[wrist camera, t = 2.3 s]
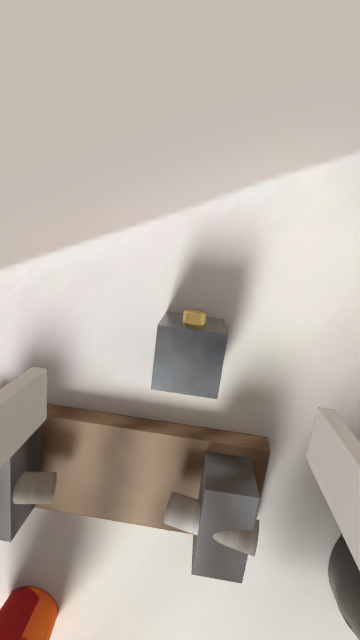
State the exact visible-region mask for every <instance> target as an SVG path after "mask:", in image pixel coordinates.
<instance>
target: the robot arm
mask: <svg viewBox="0 0 360 640" xmlns="http://www.w3.org/2000/svg"><path fill="white" fill-rule="evenodd" d="M46 419H47V369H46V368H39V367H31V368H29V369H28V370H27V371H25V372H24V373H22V374H21V375H19V376H18V377H16V378H15V379H14V380H12V381H11V382H9V383H8V384H6V385H5V386H3V387H2V388H0V468H1V467H2V466H3V465H4V464H5V463H6V462H7V461H8V460H9V459H10V458H11V457H12V456H13V454H14V453H15V452H16V451H17V450H18V449H19V448H20V447H21V446H22V445H23V444H24V443H25V441H26V440H27V439H28V438H29V437H30V436H31V435H32V434H33V433H34V432H35V431H36V430H37V428H38V427H39V426H40V425H41V424H42V423H43V422H44V421H45V420H46ZM306 460H307V462H308V464H309V466H310V468H311V470H312V472H313V474H314V477H315V479H316V481H317V483H318V485H319V487H320V489H321V491H322V493H323V495H324V497H325V500H326V502H327V504H328V506H329V508H330V510H331V512H332V514H333V516H334V518H335V520H336V523H337V525H338V527H339V529H340V531H341V533H342V535H343V536H342V538H341V539H340V540H339V541H338V543H337V544H336V546H335V548H334V550H333V552H332V555H331V558H330V561H329V568H328V575H329V582H330V586H331V589H332V591H333V594H334V597H335V599H336V602H337V605H338V607H339V610H340V612H341V614H342V616H343V618H344V620H345V621H346V623H347V624H348V626H349V627H350V628H351V630H352V631H353V632H354V633H355V634H356V636H357V638H358V639H359V640H360V441H359V440H358V439H357V437H356V436H355V435H354V434H353V432H352V431H351V430H350V429H349V427H348V426H347V425H346V424H345V422H344V421H343V420H342V419H341V417H340V416H339V415H338V414H337V412H336V411H335V410H331V409H324V408H318V410H317V414H316V418H315V422H314V426H313V430H312V434H311V438H310V443H309V447H308V451H307V455H306Z"/></svg>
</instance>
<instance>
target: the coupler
mask: <svg viewBox="0 0 360 640" xmlns="http://www.w3.org/2000/svg"><path fill="white" fill-rule="evenodd" d="M227 335H228V334H227V330H226V327H225V323H224V320H223V319H215V318H208V317H206V313H205V312H203V311H199V310H184V312H183V314H178V313H171V312H166V313H165V315H164V316H163V318H162V319H161V321H160V322H159V324H158V328H157V337H156V347H155V356H154V365H153V375H152V384H151V389H153V390H160V391H166V392H173V393H180V394H187V395H193V396H200V397H207V398H214V399H217V398H218V391H219V385H220V379H221V373H222V366H223V360H224V354H225V348H226V342H227Z"/></svg>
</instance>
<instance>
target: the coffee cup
mask: <svg viewBox="0 0 360 640" xmlns="http://www.w3.org/2000/svg"><path fill="white" fill-rule="evenodd" d="M57 613H58V608H57V604H56V602H55V601H54V599H53V598H52V597H51V596H50V595H49V594H48V593H47V592H45V591H43V590H41V589H39V588H36V587H30V586H26V587H20V588H18V589H16V590H14V591H13V592H12V593H11V595H10V596H9V598H8V599H7V600H6V602H5V603H4V605H3V606H2V608H1V610H0V640H49V639H50V636H51V633H52V630H53V627H54V624H55V621H56V617H57Z"/></svg>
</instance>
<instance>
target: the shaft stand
mask: <svg viewBox="0 0 360 640" xmlns="http://www.w3.org/2000/svg"><path fill="white" fill-rule="evenodd" d="M269 455H270V448H269V445H268V442H267V439H266V437H260V436H254V435H247V434H241V433H234V432H228V431H221V430H215V429H208V428H201V427H195V426H188V425H182V424H175V423H169V422H162V421H156V420H149V419H143V418H136V417H129V416H123V415H116V414H110V413H103V412H97V411H90V410H84V409H77V408H71V407H64V406H57V405H51V404H47V419H46V420H45V421H44V422H43V423H42V424H41V425H40V426H39V427H38V428H37V430H36V431H35V432H34V433H33V434H32V435H31V436H30V437H29V438H28V439H27V440H26V441H25V443H24V444H23V445H22V446H21V447H20V448H19V449H18V450H17V451H16V452H15V453H14V454H13V456H12V457H11V458H10V459H9V460H8V461H7V462H6V463H5V464H4V465H3V466H2V467H1V468H0V540H3V541H8V542H11V541H12V539H13V538H14V536H15V535H16V533H17V532H18V530H19V529H20V527H21V526H22V524H23V523H24V521H25V520H26V518H27V517H28V515H29V514H30V512H31V511H32V509H33V508H34V507H37V508H43V509H49V510H55V511H60V512H66V513H72V514H78V515H84V516H90V517H95V518H101V519H107V520H113V521H119V522H124V523H130V524H136V525H142V526H148V527H153V528H159V529H165V530H171V531H177V532H183V533H188V534H193V554H192V574H193V575H198V576H204V577H209V578H215V579H221V580H226V581H232V582H237V583H242V580H243V575H244V571H245V566H246V561H247V556H248V554H249V555H252V556H255V552H256V547H257V541H258V533H259V520H257V519H256V517H257V512H258V507H259V503H260V498H261V493H262V488H263V483H264V479H265V474H266V469H267V464H268V460H269Z"/></svg>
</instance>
